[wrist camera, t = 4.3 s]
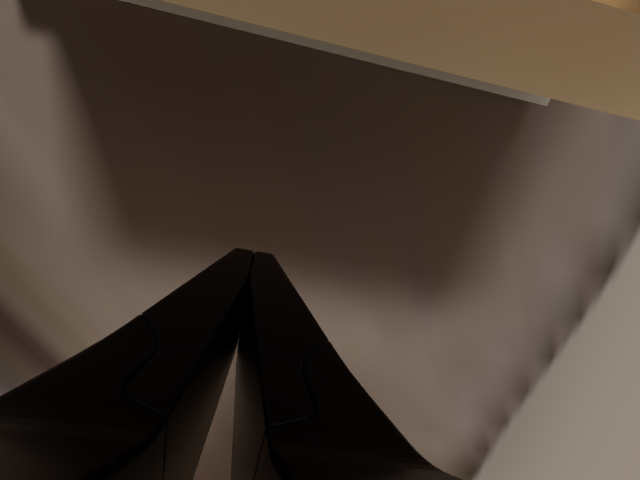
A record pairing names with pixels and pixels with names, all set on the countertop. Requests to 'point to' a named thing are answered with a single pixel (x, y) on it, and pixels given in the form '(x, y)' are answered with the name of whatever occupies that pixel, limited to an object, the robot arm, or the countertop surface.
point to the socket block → (479, 40)
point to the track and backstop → (338, 49)
